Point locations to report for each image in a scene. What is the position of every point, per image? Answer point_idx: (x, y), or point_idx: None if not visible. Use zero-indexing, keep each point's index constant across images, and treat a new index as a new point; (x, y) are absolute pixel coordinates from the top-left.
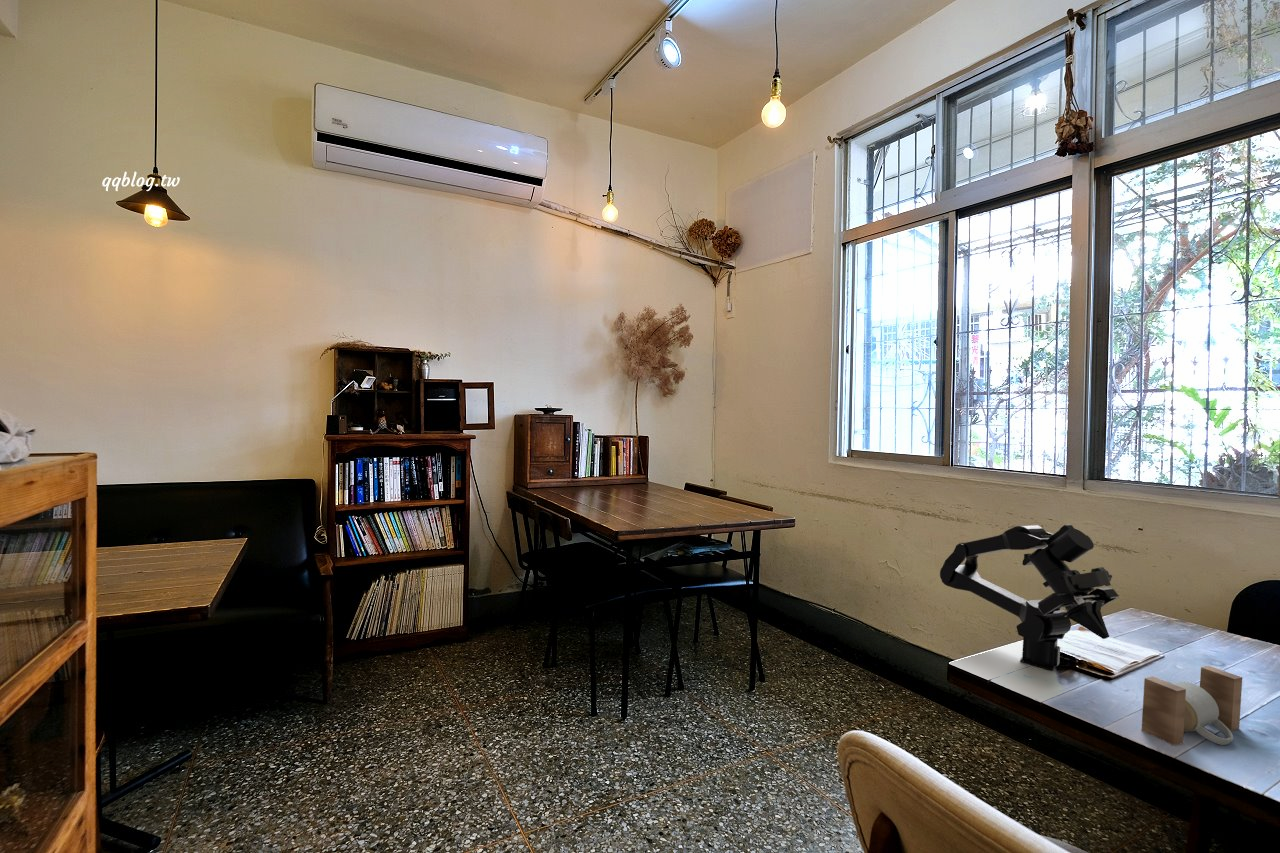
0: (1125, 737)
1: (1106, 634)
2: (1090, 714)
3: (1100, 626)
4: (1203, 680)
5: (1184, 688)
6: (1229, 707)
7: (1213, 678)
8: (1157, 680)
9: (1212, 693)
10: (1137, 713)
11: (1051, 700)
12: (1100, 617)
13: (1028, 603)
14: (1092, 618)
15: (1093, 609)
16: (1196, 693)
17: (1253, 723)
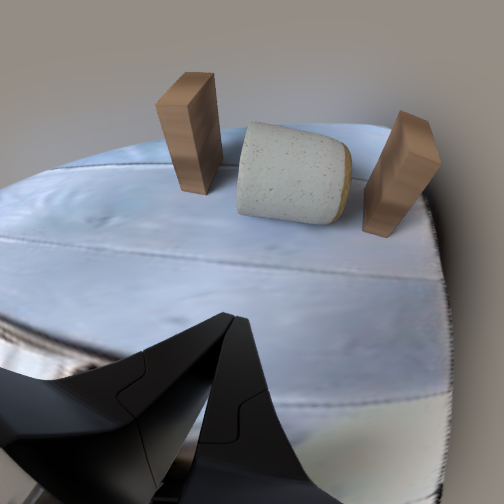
0: (435, 246)
1: (237, 321)
2: (416, 316)
3: (242, 353)
4: (194, 128)
5: (296, 140)
6: (217, 129)
7: (201, 104)
8: (422, 144)
9: (204, 134)
10: (312, 264)
11: (426, 389)
12: (144, 372)
13: None
14: (274, 417)
15: (106, 453)
16: (290, 129)
17: (154, 151)
